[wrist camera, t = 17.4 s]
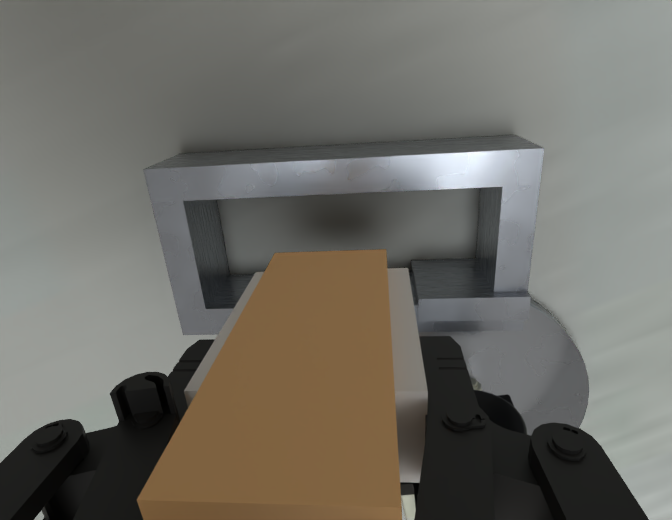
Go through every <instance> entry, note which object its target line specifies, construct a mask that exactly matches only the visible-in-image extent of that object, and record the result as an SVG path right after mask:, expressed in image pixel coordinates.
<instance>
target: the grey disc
mask: <svg viewBox="0 0 672 520" xmlns="http://www.w3.org/2000/svg"><path fill="white" fill-rule="evenodd" d="M411 272H412V278H413V283H414V289H415V295H416V300H417V317H418V322H419V321H488V320H524V325H523V331H456V332H418V334H419V336H451V337H452V338H453V339H454V340H455V341H456V342H457V343H458V344H459V345H460V346H461V350H462V353H463V356H464V360H465V363H466V366H467V370H468V372H469V376H470V378H474V379H476V380H477V381H478V382H479V383H480V384H481V387H482V391H485V392H488V393H491V394H494V395H497V396H498V395H506V394H508V395H510V397H511V400H512V402H513V405H514V407H515V408H516V409H517V411H518V412H519V413H520V414H521V416H522V417H523V419H524V421H525V424H526V427H527V435H532V433H533V431H534V429H535V428H537V427H539V426H540V425H542V424H546V423H552V422H554V423H563V424H568V425H571V426H574V427H576V428H579V427H580V425H581V423H582V421H583V418H584V415H585V412H586V408H587V405H588V396H589V382H588V375H587V371H586V367H585V363H584V361H583V359H582V356H581V354H580V352H579V350H578V349H577V347H576V346H575V344H574V343H573V341H572V340H571V338H570V337H569V335H568V334H567V333H566V331H565V330H564V328H563V327H562V326H561V324H560V323H559V322H558V321H557V320H556V319H555V318H554V317H553V316H552V314H551V313H550V312H548V311H547V310H546V309H545V308H543V307H542V306H541V305H540V304H538V303H537V302H535V301H533V300H532V299H531V296H530V295H529V293H528V292H493V290H492V288H491V286H490V284H489V282H488V281H487V279H486V277H485V275H484V273H483V271H482V269H481V267H480V265H479V264H478V262H477V260H476V259H442V260H411Z"/></svg>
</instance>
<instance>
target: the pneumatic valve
mask: <svg viewBox="0 0 672 520" xmlns="http://www.w3.org/2000/svg"><path fill="white" fill-rule="evenodd" d="M470 379H471V382H472V386H473V389H474V392H475V395H476V399H477V402H478V405H479V407H480V408H481V409H482V410H483V411H484V412H485V413H486V414H487V415H488V417H489V420H491V421H492V422H493V423H495V424H497V425H499V426H501V427H502V428H505V429H508V430H511V431H515V432H519V433H523V434H527V427H526V424H525V421H524V419H523V417H522V416H521V414H520V413H519V412H518V411H517V409H516V408H515V407H514V405H513V402H512V400H511V397H510V395H508V394H506V395H498V396H497V395H494V394H491V393H488V392H485V391H482V387H481V384H480V383H479V382H478V381H477V380H476V379H474V378H470ZM400 489H401V501H402V505H403V509H404V513H405V517H406V520H414V519H415V512H416V504H417V497H418V490H419V483H410V482H400Z"/></svg>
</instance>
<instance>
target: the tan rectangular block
mask: <svg viewBox="0 0 672 520" xmlns="http://www.w3.org/2000/svg"><path fill="white" fill-rule="evenodd" d="M137 502H138V505H139V508H140V511H141V514H142V517H143V520H402V506H401V489H400V472H399V456H398V439H397V422H396V405H395V388H394V372H393V355H392V338H391V321H390V304H389V287H388V271H387V254H386V249H378V250H347V251H316V252H285V253H275V254H274V255H273V257H272V259H271V261H270V263H269V264H268V266H267V268H266V270H265V272H264V273H263V275H262V277H261V279H260V280H259V282H258V284H257V286H256V288H255V289H254V291H253V293H252V295H251V297H250V298H249V300H248V302H247V304H246V306H245V307H244V309H243V311H242V313H241V314H240V316H239V318H238V320H237V322H236V323H235V325H234V327H233V329H232V331H231V332H230V334H229V336H228V338H227V339H226V341H225V343H224V345H223V347H222V348H221V350H220V352H219V354H218V356H217V357H216V359H215V361H214V363H213V364H212V366H211V368H210V370H209V372H208V373H207V375H206V377H205V379H204V381H203V382H202V384H201V386H200V388H199V390H198V391H197V393H196V395H195V397H194V398H193V400H192V402H191V404H190V406H189V407H188V409H187V411H186V413H185V415H184V416H183V418H182V420H181V422H180V423H179V425H178V427H177V429H176V431H175V432H174V434H173V436H172V438H171V440H170V441H169V443H168V445H167V447H166V448H165V450H164V452H163V454H162V456H161V457H160V459H159V461H158V463H157V465H156V466H155V468H154V470H153V472H152V474H151V475H150V477H149V479H148V481H147V482H146V484H145V486H144V488H143V490H142V491H141V493H140V495H139V497H138V499H137Z"/></svg>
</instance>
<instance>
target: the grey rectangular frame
mask: <svg viewBox="0 0 672 520" xmlns="http://www.w3.org/2000/svg"><path fill="white" fill-rule="evenodd" d="M543 154H544V148H543V147H541V146H538V145H536V144H534V143H532V142H530V141H528V140H525V139H523V138H521V137H519V136H517V135H502V136H485V137H467V138H449V139H431V140H414V141H396V142H378V143H361V144H343V145H325V146H308V147H290V148H272V149H254V150H237V151H219V152H201V153H184V154H178V155H176V156H174V157H171V158H169V159H167V160H164V161H162V162H160V163H157V164H155V165H153V166H150V167H148V168H146V169H143V170H144V174H145V178H146V182H147V187H148V191H149V195H150V199H151V203H152V207H153V212H154V216H155V220H156V224H157V228H158V232H159V237H160V241H161V245H162V249H163V253H164V257H165V262H166V266H167V270H168V274H169V278H170V282H171V286H172V291H173V295H174V299H175V303H176V307H177V311H178V316H179V320H180V324H181V328H182V332H183V335H209V334H219V332H220V330H221V329H222V327H223V326H224V324H225V322H226V321H227V319H228V317H229V316H230V314H231V312H232V311H233V309H234V307H235V306H236V304H237V302H238V301H239V299H240V297H241V296H242V294H243V292H244V291H245V289H246V287H247V286H248V284H249V283H250V281H251V279H252V278H253V276H254V274H249V275H230V273H229V267H228V262H227V256H226V251H225V245H224V240H223V234H222V229H221V223H220V217H219V212H218V206H217V201H216V199H237V198H260V197H282V196H304V195H326V194H349V193H371V192H393V191H415V190H438V189H460V188H480V200H479V216H478V232H477V248H476V260H477V262H478V264H479V265H480V267H481V269H482V271H483V273H484V275H485V277H486V279H487V281H488V282H489V284H490V286H491V288H492V290H493V292H527V291H528V282H529V274H530V265H531V257H532V248H533V240H534V231H535V223H536V214H537V206H538V197H539V188H540V180H541V171H542V163H543ZM408 271H409V277H410V284H411V290H412V296H413V302H414V309H415V315H416V321H417V327H418V332H456V331H523V325H524V320H488V321H419V322H418V317H417V300H416V295H415V289H414V283H413V278H412V272H411V270H408Z"/></svg>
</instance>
